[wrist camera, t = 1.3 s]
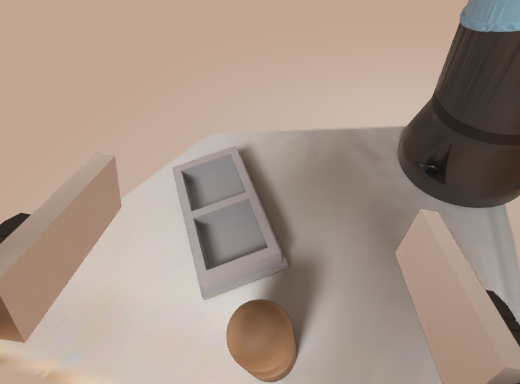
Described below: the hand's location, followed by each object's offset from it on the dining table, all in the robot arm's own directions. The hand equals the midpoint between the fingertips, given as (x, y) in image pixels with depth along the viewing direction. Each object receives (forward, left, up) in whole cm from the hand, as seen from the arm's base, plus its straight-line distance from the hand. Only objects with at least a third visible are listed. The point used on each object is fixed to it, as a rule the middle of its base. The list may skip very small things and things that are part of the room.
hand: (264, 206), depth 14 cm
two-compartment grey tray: (+10, -11, -22) cm, 27 cm away
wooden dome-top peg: (+2, +3, -22) cm, 22 cm away
